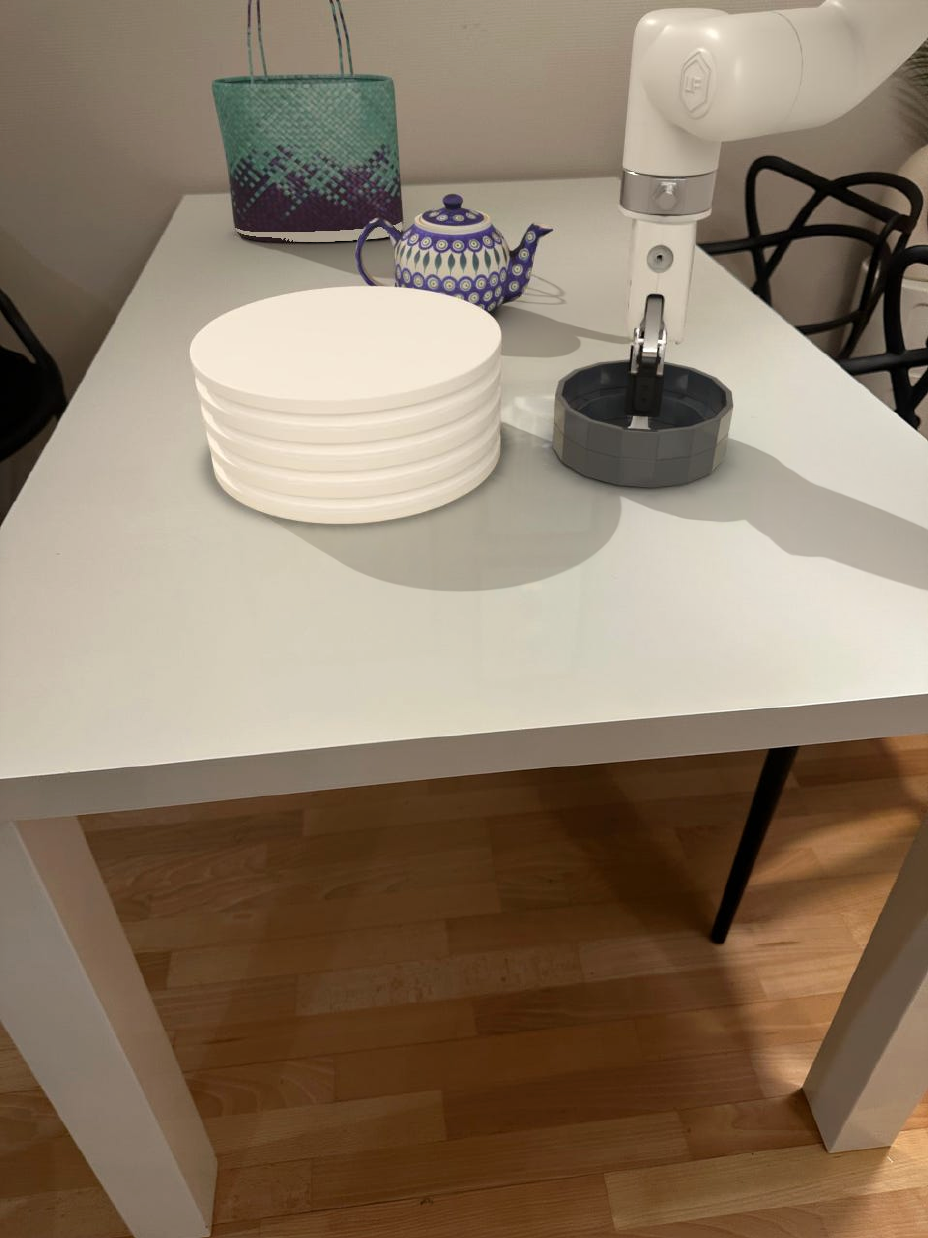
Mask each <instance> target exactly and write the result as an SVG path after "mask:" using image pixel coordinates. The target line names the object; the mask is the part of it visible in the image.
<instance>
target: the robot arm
mask: <svg viewBox="0 0 928 1238" xmlns="http://www.w3.org/2000/svg"><path fill="white" fill-rule="evenodd" d="M927 39H928V0H824V2H822V3H821V4H820V5H819V6H817V7H800V8H797V7H796V8H789V9H788V8H787V9H775V10H773V9H772V10H764V11H757V12H756V11H755V12H744V13H732V14H730V13H728V12H726V11H724V10H722V9H721V10H720V9H715V8H708V7H707V8H705V7H703V8H702V7H673V8H672V7H669V8H662V9H656V10H652V11H650V12H647V13H646V14H644V16H642V17H641V18H640V20H639V21H638V23H637V25H636V27H635V30H634V33H633V41H632V49H631V63H630V71H629V72H630V74H629V84H628V85H629V86H628V95H627V108H626V120H625V130H624V143H623V155H622V167H621V177H620V188H619V189H620V190H619V201H618V212H619V213H620V214H621V215H623V216H625V217H627V218H630V219H632V220H631V231H630V232H631V233H630V242H629V243H630V244H629V256H628V268H627V269H628V271H627V285H626V293H627V294H626V338H627V339H628V340H629V341H630V342H631V343H633V344H631V345H630V351H629V352H630V353H629V359H630V361H629V370H628V378H627V388H626V398H625V408H624V413H625V414H626V415H628V416H643V417H658V416H659V415H660V409H661V401H662V393H663V385H664V378H665V373H663V365H664V362H665V356H666V350H667V348H666V347H667V344H668V341H669V342H675V345H677V346H679V345H680V344H681V343H682V342H683V341H684V339H685V330H686V322H687V315H688V306H689V299H690V293H691V292H690V291H691V283H692V276H693V270H694V269H693V268H694V263H695V262H694V260H695V253H696V242H697V229H698V221H700V220H704V219H706V218H708V217H710V216H711V214H712V210H713V204H714V203H713V202H714V196H715V190H716V183H717V176H718V168H719V163H720V156H721V149H722V142H723V143H724V142H726V143H727V142H734V141H735V142H736V141H741V140H747V139H754V138H760V137H765V136H767V135H768V136H770V135H776V134H782V133H790V132H796V131H803V130H810V129H814V128H819V127H822V126H824V125H827V124H829V123H831V122H833V121H835V120H837V119H839V118H841V117H842V116H844V115H845V114H847V113H848V112H850V111H851V110H852V109H853V108H856V106H858V105H859V104H860V103H861V102H863V101H864V100H865V99H866V98H867V97H868V96H870V95H871V94H872V93H873V92H874V91H875V90H876V89H877V88H878V87H879V86H881V84H883V83H884V82H885V81H886V80H887V79H888V78H889V77H891V75H893V74H894V73H895V72H896V71H897V70H898V69H899V68H900V67H901V66H902V65H903V64H904V63H905V62H906V61H907V60H909V58H910V57H911V56H913V54H914V53H916V51H917V50H919V48H920V47H921V46H922V45H923V44H924V43H925V41H926V40H927ZM667 338H668V341H667ZM637 366H638V367H637Z"/></svg>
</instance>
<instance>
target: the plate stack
mask: <svg viewBox="0 0 928 1238" xmlns="http://www.w3.org/2000/svg"><path fill="white" fill-rule="evenodd" d="M502 335H503V334H502V329H501V327H500V325H499V323H498V322H497V320H496V319H495V317H493V315H492V314H491V313H490V314H489V313H487V312H486V311H485V310H483V309H481V308H480V307H478V306H476V305H474V304H472V303H469V302H467V301H465V300H462V299H459V298H456V297H452V296H449V295H445V294H441V293H436V292H431V291H425V290H419V289H411V288H401V287H386V286H369V285H355V286H354V285H353V286H351V285H350V286H349V285H348V286H333V287H325V288H324V287H323V288H314V289H308V290H299V291H294V292H289V293H285V294H279V295H276V296H271V297H267V298H264V299H260V300H257V301H254V302H250V303H247V304H245V305H242V306H239V307H237V308H233V309H232V310H230V311H228V312H226V313H224V314H222V315H219V316H218V317H216V318H215V319H213V320H211V321H210V322H209V323H207V324H206V325H205V326H203V327H202V328H201V329H200V330H199V331H198V332H197V333H196V335H194V337H193V339H192V341H191V343H190V347H189V359H190V363H191V368H192V372H193V374H194V375H195V381H194V382H195V386H196V391H197V396H198V399H199V401H200V410H201V415H202V419H203V424H204V428H205V431H206V432H205V433H206V434H205V435H206V439H207V444H208V449H209V451H210V454H211V455H210V456H211V462H212V467H213V472H214V476H215V478H216V480H217V482H218V484H219V485H220V486H221V488H222V489H223V490H224V491H225V492H226V494H228V495H229V496H231V498H233V499H235V500H236V501H238V502H239V503H241V504H243V505H245V506H246V507H249V508H251V509H253V510H255V511H258V512H260V513H264V514H267V515H269V516H273V517H277V518H281V519H287V520H292V521H296V522H297V521H298V522H302V523H303V522H304V523H314V524H327V525H330V524H331V525H348V524H349V525H352V524H366V523H376V522H384V521H390V520H395V519H402V518H406V517H410V516H414V515H418V514H421V513H424V512H428V511H431V510H434V509H437V508H440V507H442V506H444V505H446V504H449V503H451V502H454V501H456V500H458V499H460V498H462V497H464V496H465V495H467V494H468V493H470V492H471V491H473V490H475V488H477V487H478V486H479V485H481V484H482V483H483V482H484V481H485V480H486V479H487V478H488V477H489V476H490V475H491V474H492V473H493V472H494V471H493V470H495V468H496V466H497V464H498V462H499V460H500V456H501V426H502V424H501V421H502V412H501V403H502V386H501V385H502V384H501V380H502V358H501V354H502V344H503V343H502V341H503V340H502V338H503V337H502Z"/></svg>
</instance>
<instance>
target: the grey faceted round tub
mask: <svg viewBox="0 0 928 1238" xmlns="http://www.w3.org/2000/svg"><path fill="white" fill-rule="evenodd" d="M629 361H630V358H629V359H617V360H607V361H597V362H595V363H591V364H589V365H586V366H582V367H578V368H575V369H573V370H572V371H571V372H569V373H568V374H566V375H565V376H564V377H562V378H561V379H559V380H558V383H557V386H556V390H555V394H554V406H553V407H554V411H553V428H552V429H553V430H552V448H553V450H554V451H555V453H556V455H557V456H558V458H559V459H560V462H561V463H563V464H564V465H566V466H567V467H569V468H571V469H572V470H574V471H576V472H577V473H579V474H580V475H582V476H584V477H587V478H592V479H594V480H598V481H601V482H605V483H609V484H611V485H612V484H613V485H617V486H627V487H637V488H638V487H639V488H651V489H652V488H660V487H661V488H662V487H669V486H678V485H685V484H688V483H692V482H693V481H696V480H698V479H701V478H704V477H706V476H709V475H711V474H712V473H713V472H714V471H715V470H716V469H717V467H718V466H719V465H720V464H721V463H722V462H723V461H724V460H725V455H726V449H727V444H728V439H729V432H730V428H731V427H730V426H731V423H732V418H733V417H732V416H733V410H734V399H733V392H732V390H731V389H729V387H727V385H725V384H724V383H723V382H722V381H721V380H720V379H719V378H718V377H717V376H713V375H711V374H709V373H706V372H704V371H702V370H699V369H698V368H695V367H692V366H688V365H683V364H678V363H673V362H668V361H664V365H663V373H665V378H664V385H663V393H662V401H661V409H660V415H659V416H658V417H648V428H650V429H637V428H628V427H630V426H631V423H632V419H633V416H628V415H626V414H625V413H624V408H625V398H626V388H627V378H628V370H629Z"/></svg>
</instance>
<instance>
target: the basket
mask: <svg viewBox="0 0 928 1238" xmlns="http://www.w3.org/2000/svg"><path fill="white" fill-rule="evenodd" d="M252 1H253V0H248V1H247V32H246V33H247V35H246V37H247V38H246V40H247V42H246V43H247V55H248V56H247V57H248V65H249V75H241V76H230V77H222V78H216V79H213V80H212V82H211V91H212V97H213V103H214V107H215V112H216V117H217V121H218V126H219V131H220V135H221V140H222V145H223V150H224V155H225V160H226V167H227V174H228V182H229V190H230V191H229V192H230V202H231V210H232V219H233V220H232V221H233V227H234V229H235V228H237V229H240V230H243V231H250V232H315V231H340V230H354V229H364V228H365V227H366V225H367V224H368V223H369V222H371V221H372V220H374V219H375V218H382V219H385V220H386V221H388V222H389V223H390V224H392V225H396V224H398V223H400V222H402V221H403V222H404V210H403V197H402V183H401V182H402V181H401V169H400V152H399V151H400V150H399V134H398V119H397V117H398V116H397V105H396V104H397V103H396V91H395V83H394V79H393V78H392V77H391V76H387V75H383V74H381V75H380V74H371V73H354V69H353V62H352V52H351V46H350V45H351V43H350V38H349V33H348V29H347V25H346V20H345V17H344V13H343V7H342V6H341V5H342V4H341V1H340V0H335V2H336V4H337V8H338V11H339V15H340V19H341V23H342V28H343V33H344V35H345V43H346V50H347V57H348V66H349V73H345V71H344V60H343V59H344V58H343V47H342V39H341V33H340V30H339V29H340V28H339V24H338V18H337V12H336V8H335V3H334V0H329V4H330V6H331V7H330V8H331V12H332V17H333V22H334V28H335V33H336V38H337V44H338V55H339V66H340V67H339V68H340V73H299V74H298V73H296V74H295V73H294V74H268V71H267V66H266V58H265V52H264V46H263V40H262V25H261V24H262V23H261V22H262V21H261V5H260V3H261V0H256V17H257V35H258V36H257V38H258V43H259V49H260V56H261V62H262V68H263V74H262V75H261V74H260V75H259V74H258V75H254V67H253V59H252V57H253V56H252V48H251V46H252V45H251V29H252V28H251V27H252V26H251V25H252V24H251V23H252V22H251V20H252V15H251V12H252V10H251V9H252V8H251V7H252ZM236 233H237V234H238V235H239V236H240V237H242V238H245V239H248V240H254V241H257V242H264V241H266V242H265V243H282V242H290V241H289V239H288V240H287V241H286V240H285V239H286V238H284V239H283V240H282V239H281V238H272V237H256V236H249V235H244V234H241V233H239V232H237V231H236ZM291 242H293V240H292V241H291Z"/></svg>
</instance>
